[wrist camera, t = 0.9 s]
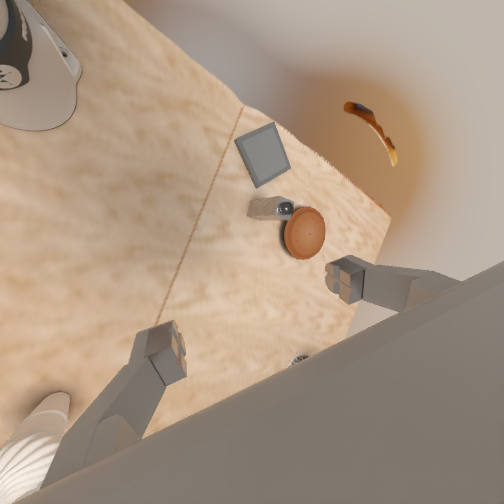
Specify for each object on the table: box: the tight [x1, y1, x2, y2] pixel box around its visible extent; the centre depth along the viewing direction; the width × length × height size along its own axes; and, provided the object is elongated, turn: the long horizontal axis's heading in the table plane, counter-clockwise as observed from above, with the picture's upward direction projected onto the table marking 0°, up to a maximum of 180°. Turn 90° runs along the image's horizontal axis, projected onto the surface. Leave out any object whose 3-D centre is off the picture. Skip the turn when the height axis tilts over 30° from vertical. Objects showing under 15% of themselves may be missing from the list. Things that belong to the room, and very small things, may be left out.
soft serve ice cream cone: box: [0, 392, 70, 504], centre depth 31 cm, size 8×8×16 cm
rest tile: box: [234, 122, 291, 188], centre depth 50 cm, size 12×12×1 cm
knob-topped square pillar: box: [247, 196, 294, 221], centre depth 45 cm, size 4×4×14 cm
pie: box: [284, 207, 325, 260], centre depth 57 cm, size 15×16×5 cm
